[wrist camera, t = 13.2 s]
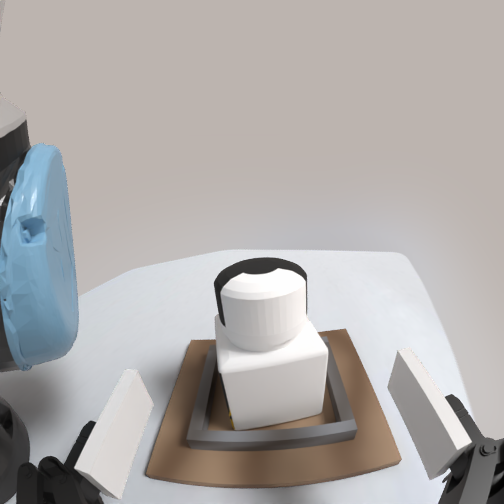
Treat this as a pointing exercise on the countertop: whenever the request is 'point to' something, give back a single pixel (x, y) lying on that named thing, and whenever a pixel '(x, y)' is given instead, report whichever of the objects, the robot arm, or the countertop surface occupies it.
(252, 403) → the medicine bottle
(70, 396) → the countertop surface
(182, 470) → the dock
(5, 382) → the countertop surface
